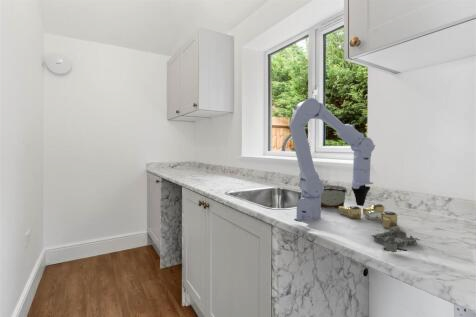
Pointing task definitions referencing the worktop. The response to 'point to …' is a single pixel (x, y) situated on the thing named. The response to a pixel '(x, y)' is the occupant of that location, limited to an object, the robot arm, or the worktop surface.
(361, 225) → the worktop surface
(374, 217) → the tribrach plate
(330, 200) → the food container
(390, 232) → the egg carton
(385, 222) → the knob right
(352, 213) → the knob left
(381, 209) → the knob back
